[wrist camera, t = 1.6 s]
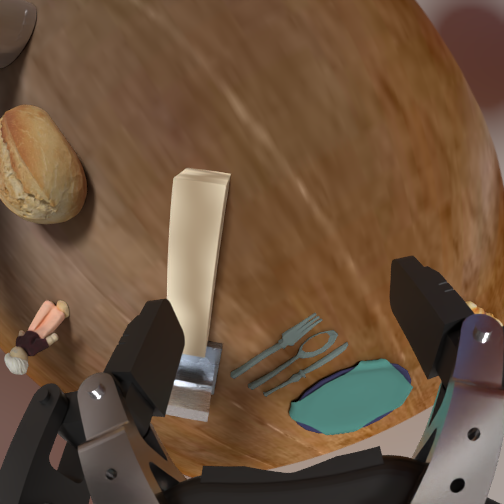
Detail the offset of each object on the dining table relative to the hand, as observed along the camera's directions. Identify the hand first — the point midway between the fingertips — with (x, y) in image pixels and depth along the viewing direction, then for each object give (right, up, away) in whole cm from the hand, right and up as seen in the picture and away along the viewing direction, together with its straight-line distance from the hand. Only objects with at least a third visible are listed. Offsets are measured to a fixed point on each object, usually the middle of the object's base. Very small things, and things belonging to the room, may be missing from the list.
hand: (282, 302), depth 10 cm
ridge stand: (-10, -13, +25) cm, 30 cm away
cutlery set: (+12, -18, +29) cm, 36 cm away
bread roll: (-22, +12, +14) cm, 29 cm away
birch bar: (-6, +1, +19) cm, 20 cm away
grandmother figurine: (-28, -6, +22) cm, 37 cm away
